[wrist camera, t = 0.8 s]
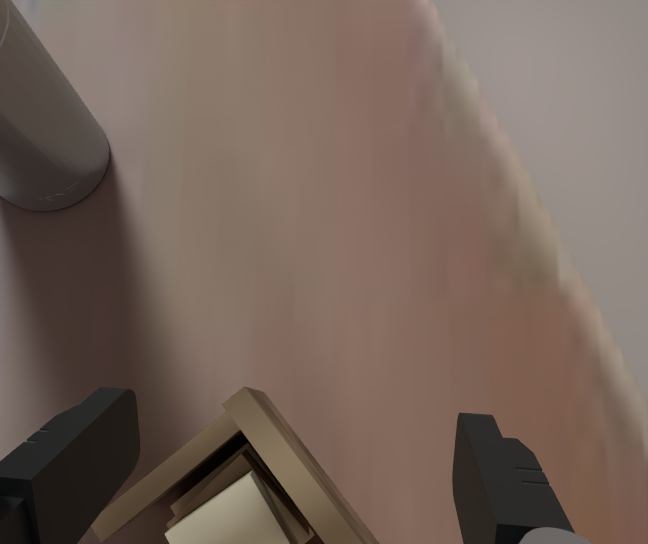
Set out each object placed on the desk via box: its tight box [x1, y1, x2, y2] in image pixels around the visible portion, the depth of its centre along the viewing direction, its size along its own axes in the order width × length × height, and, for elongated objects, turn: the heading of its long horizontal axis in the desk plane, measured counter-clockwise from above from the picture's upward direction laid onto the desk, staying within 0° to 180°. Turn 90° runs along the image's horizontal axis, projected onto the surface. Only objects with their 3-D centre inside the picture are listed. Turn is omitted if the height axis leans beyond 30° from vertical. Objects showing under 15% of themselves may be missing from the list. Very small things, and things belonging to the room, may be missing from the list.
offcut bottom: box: [170, 442, 315, 544], centre depth 32 cm, size 7×6×3 cm
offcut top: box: [165, 467, 299, 544], centre depth 26 cm, size 5×5×3 cm
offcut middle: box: [166, 449, 310, 544], centre depth 29 cm, size 6×6×3 cm
